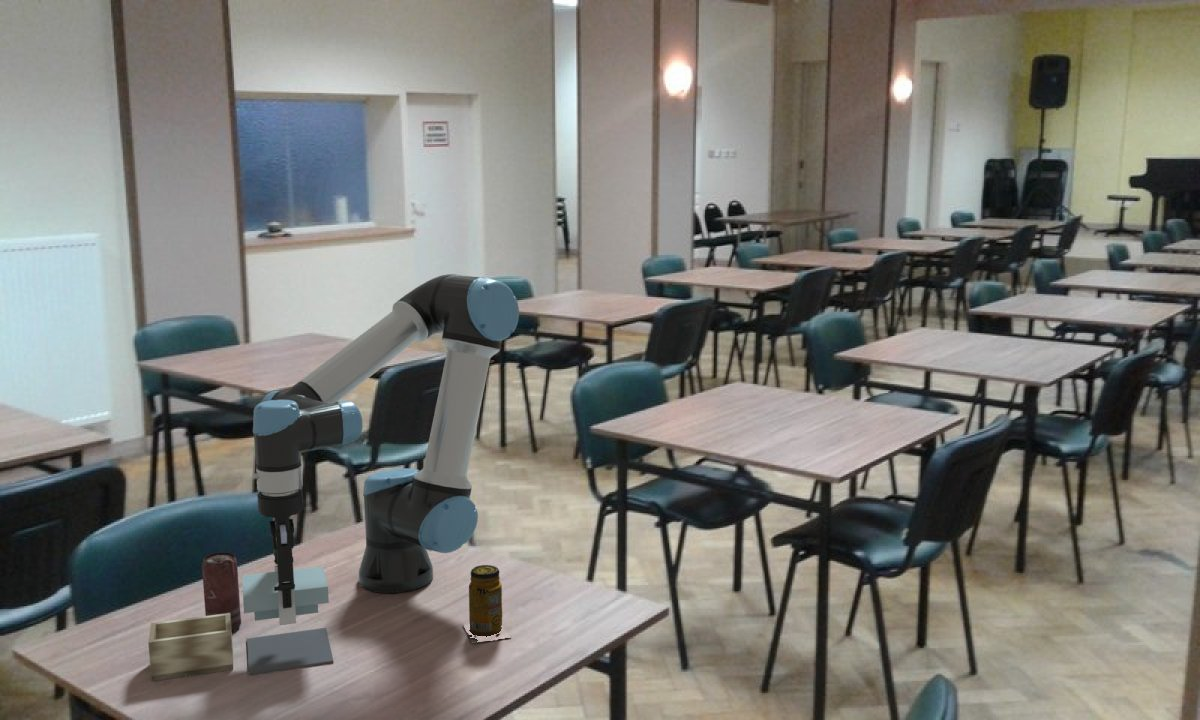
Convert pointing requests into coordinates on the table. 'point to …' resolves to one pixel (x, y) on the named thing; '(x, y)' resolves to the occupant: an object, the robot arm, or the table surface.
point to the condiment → (485, 601)
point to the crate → (190, 646)
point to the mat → (288, 651)
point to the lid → (265, 599)
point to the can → (222, 587)
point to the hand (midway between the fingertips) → (286, 611)
